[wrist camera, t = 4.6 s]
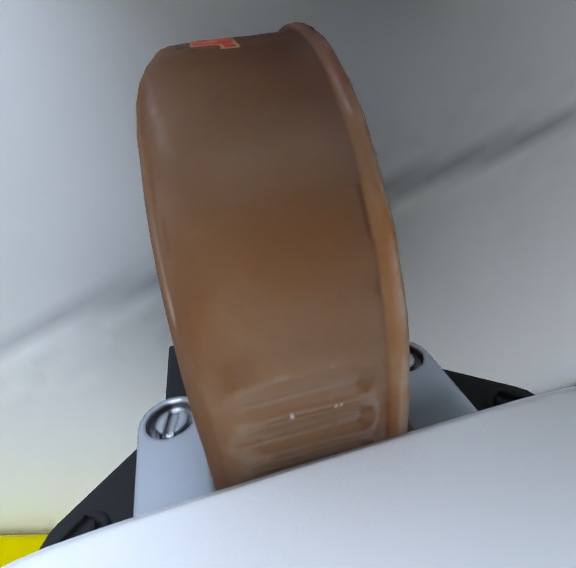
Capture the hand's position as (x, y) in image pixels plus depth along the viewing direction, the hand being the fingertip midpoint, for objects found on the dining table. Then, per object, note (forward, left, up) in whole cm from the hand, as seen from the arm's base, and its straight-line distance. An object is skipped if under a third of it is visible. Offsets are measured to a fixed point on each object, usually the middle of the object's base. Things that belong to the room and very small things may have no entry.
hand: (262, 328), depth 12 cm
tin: (0, 0, -1) cm, 1 cm away
